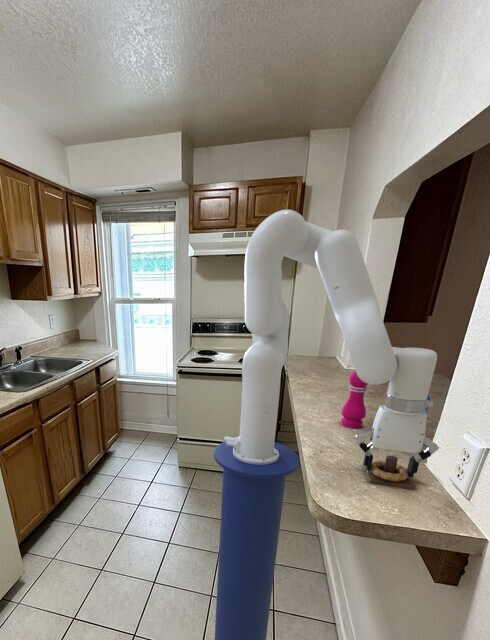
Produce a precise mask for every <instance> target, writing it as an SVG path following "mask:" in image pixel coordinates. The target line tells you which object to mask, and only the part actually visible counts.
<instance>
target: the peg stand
mask: <svg viewBox="0 0 490 640" xmlns="http://www.w3.org/2000/svg"><path fill="white" fill-rule="evenodd" d="M398 459H399V458H398V457H397V456H395V455H386V456H385V460H384V461H385V464H384V468H378V469H380V470H382V471H385V472H387V473H393V474H398V472H396V471H395V469H396V465H397V464H398ZM364 468H365V473H366V477H367V480H368V483H369V484H376V485H381V486H388V487H393V488H400V489H406V490H412V491H414V489H415V485H414V483H413V481H412V479H411V477H408V478H407V479H406V480H404V481H396V482H395V481H389V480H384V479H382V478H379V477H377V476H375V475H374V474H372V473H371V472H370V471H367V470H366V466H364Z"/></svg>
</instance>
